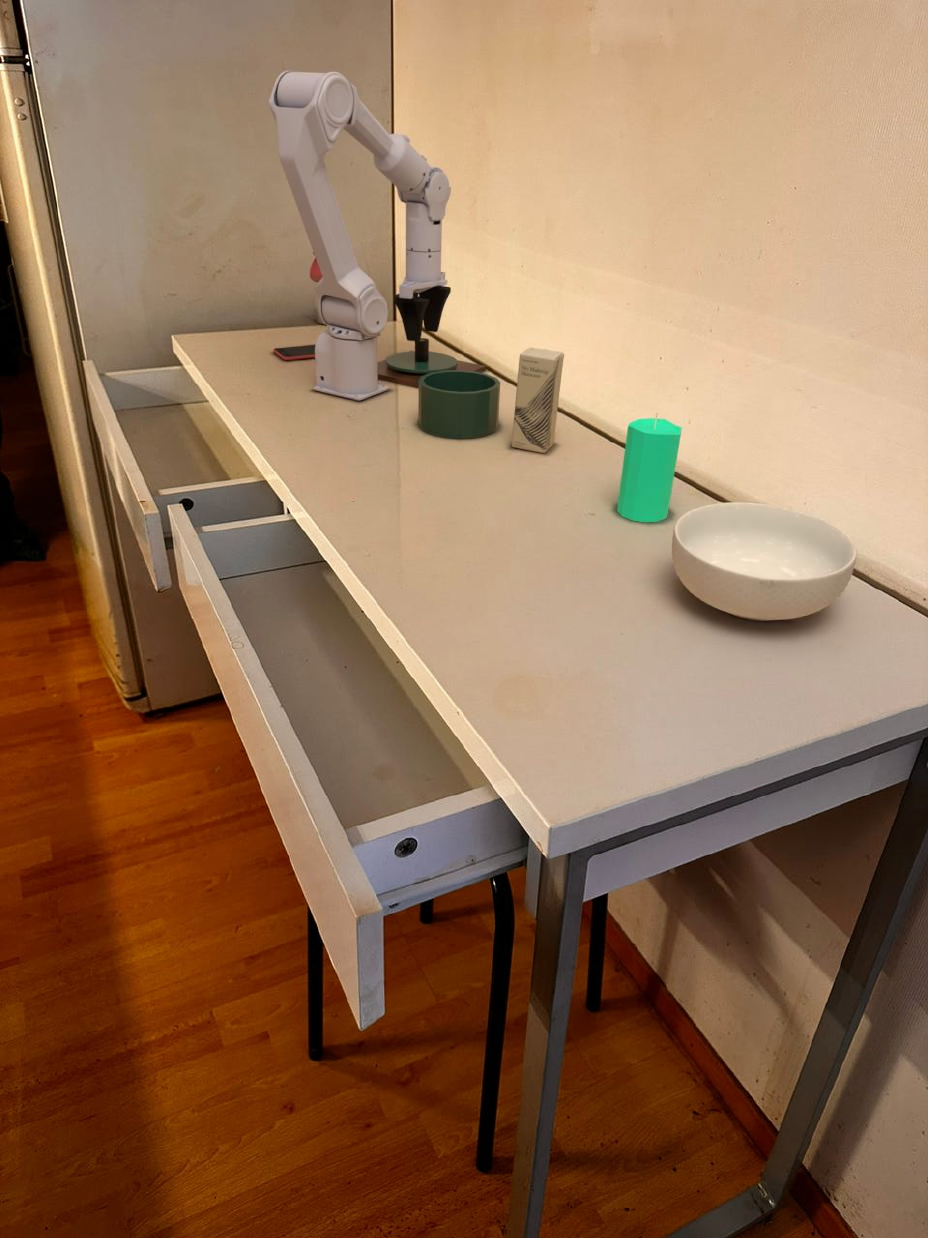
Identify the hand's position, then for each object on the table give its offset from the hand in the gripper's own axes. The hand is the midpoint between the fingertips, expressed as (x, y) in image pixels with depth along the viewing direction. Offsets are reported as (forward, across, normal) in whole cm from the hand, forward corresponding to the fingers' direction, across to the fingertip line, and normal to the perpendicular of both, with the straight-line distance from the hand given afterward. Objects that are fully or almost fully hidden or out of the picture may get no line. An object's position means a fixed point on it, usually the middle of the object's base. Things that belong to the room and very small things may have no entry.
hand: (422, 335), depth 151 cm
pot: (+6, -24, -16) cm, 29 cm away
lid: (+5, 0, 0) cm, 5 cm away
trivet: (+6, 0, 0) cm, 6 cm away
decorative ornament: (+6, +25, +31) cm, 40 cm away
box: (+6, -27, -28) cm, 40 cm away
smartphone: (+6, +2, +22) cm, 23 cm away
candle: (+6, -43, -47) cm, 64 cm away
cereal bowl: (+6, -60, -61) cm, 85 cm away
